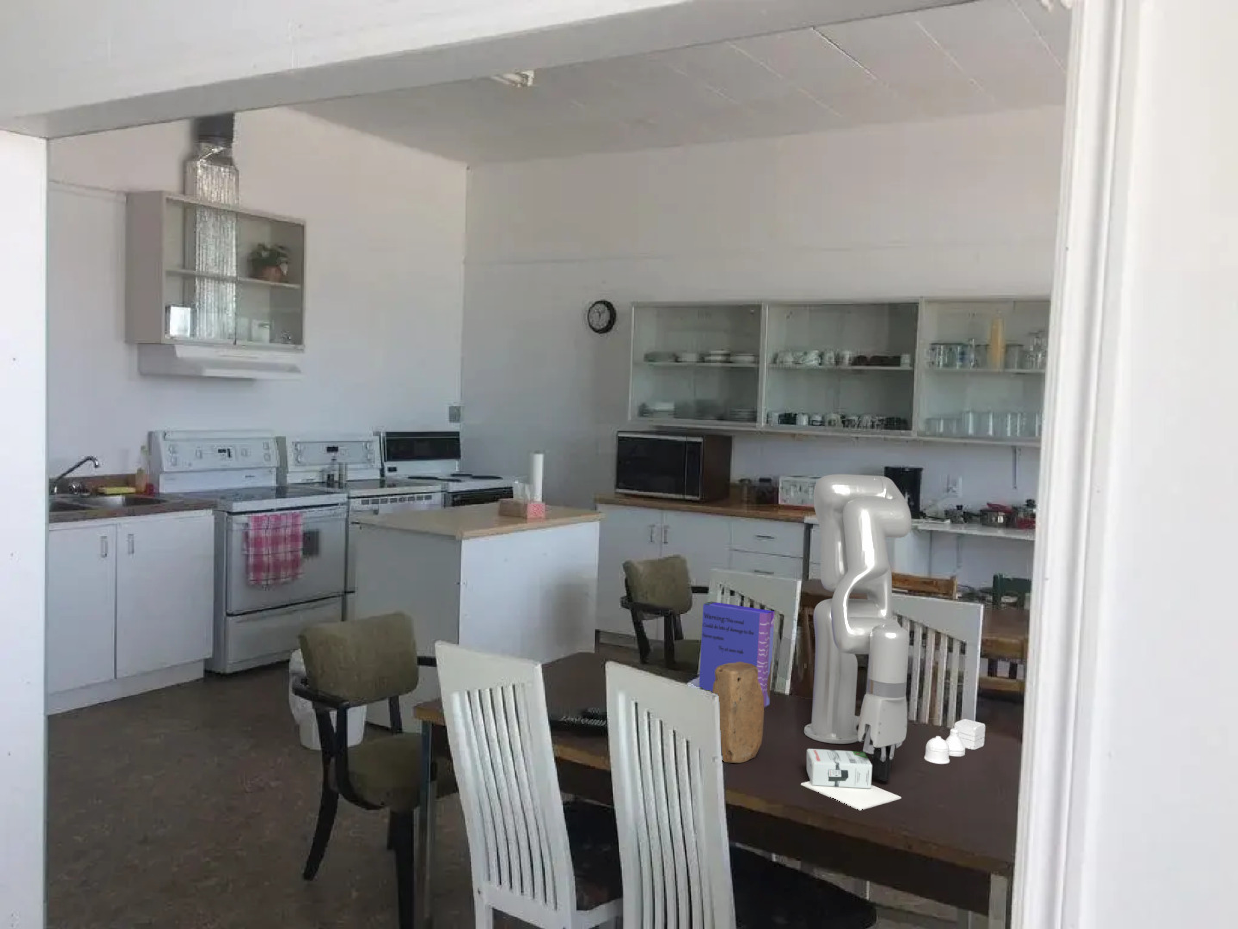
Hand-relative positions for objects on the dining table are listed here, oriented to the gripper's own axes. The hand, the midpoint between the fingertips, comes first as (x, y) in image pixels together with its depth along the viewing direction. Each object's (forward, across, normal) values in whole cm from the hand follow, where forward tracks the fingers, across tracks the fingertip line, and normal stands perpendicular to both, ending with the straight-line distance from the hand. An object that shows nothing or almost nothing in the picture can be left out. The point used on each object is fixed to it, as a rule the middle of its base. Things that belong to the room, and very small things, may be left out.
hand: (880, 778), depth 211 cm
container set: (+2, -30, -4) cm, 31 cm away
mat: (+1, +9, 0) cm, 9 cm away
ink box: (-2, +2, -1) cm, 3 cm away
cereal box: (+1, -14, -58) cm, 60 cm away
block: (+1, +15, -26) cm, 30 cm away
